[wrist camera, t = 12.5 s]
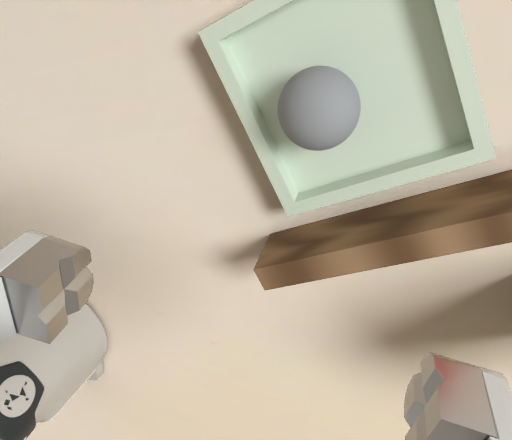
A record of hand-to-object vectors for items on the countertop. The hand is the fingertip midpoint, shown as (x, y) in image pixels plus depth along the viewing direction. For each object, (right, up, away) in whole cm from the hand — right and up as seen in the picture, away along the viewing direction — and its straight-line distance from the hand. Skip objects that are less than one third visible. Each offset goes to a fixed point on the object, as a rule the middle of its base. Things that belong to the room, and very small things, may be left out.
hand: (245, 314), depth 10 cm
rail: (+10, +3, +21) cm, 24 cm away
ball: (+4, +9, +15) cm, 18 cm away
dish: (+6, +11, +17) cm, 21 cm away
